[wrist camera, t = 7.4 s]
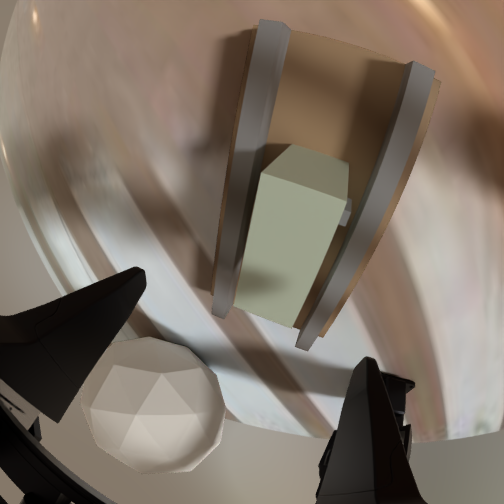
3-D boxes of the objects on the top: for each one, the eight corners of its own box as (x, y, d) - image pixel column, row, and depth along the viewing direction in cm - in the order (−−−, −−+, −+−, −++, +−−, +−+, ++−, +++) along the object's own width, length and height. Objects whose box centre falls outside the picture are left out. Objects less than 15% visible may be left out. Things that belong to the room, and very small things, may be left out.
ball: (233, 341, 42) (246, 458, 33) (126, 347, 43) (134, 451, 34) (194, 313, 25) (215, 508, 16) (52, 322, 26) (61, 471, 17)
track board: (324, 329, 24) (319, 355, 22) (215, 287, 26) (200, 309, 23) (436, 82, 10) (453, 81, 8) (258, 28, 12) (240, 17, 10)
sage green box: (317, 268, 19) (300, 331, 15) (265, 249, 20) (233, 306, 15) (357, 166, 14) (360, 206, 10) (292, 144, 15) (261, 172, 10)
